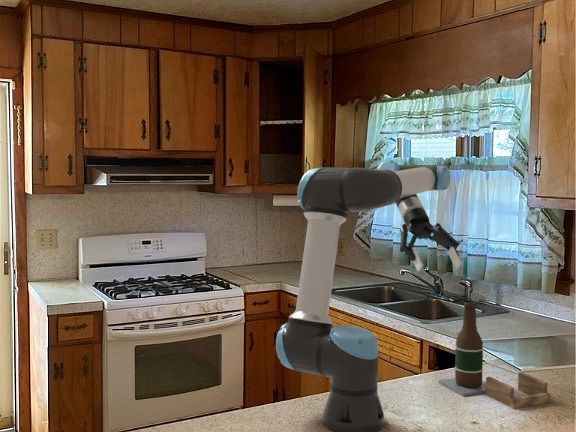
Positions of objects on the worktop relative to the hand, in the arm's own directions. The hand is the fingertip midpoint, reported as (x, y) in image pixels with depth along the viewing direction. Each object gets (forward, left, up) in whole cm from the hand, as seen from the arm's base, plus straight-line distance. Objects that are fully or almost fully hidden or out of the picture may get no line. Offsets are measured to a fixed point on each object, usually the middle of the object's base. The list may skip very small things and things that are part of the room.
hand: (440, 267), depth 189 cm
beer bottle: (+3, -11, -33) cm, 35 cm away
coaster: (+3, -11, -34) cm, 35 cm away
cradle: (+10, -23, -34) cm, 42 cm away
